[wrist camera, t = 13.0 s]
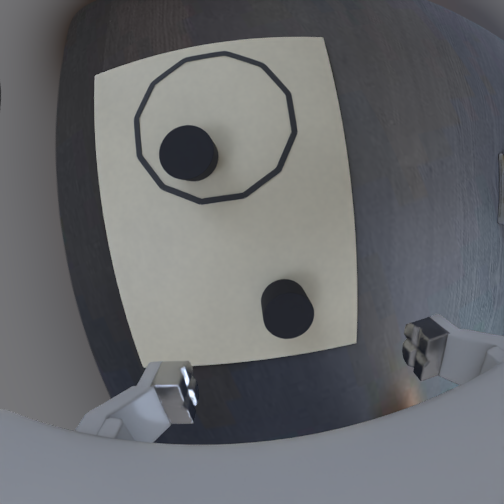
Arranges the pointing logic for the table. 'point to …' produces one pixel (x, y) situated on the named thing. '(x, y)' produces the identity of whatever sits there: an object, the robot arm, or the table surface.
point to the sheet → (228, 199)
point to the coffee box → (501, 190)
